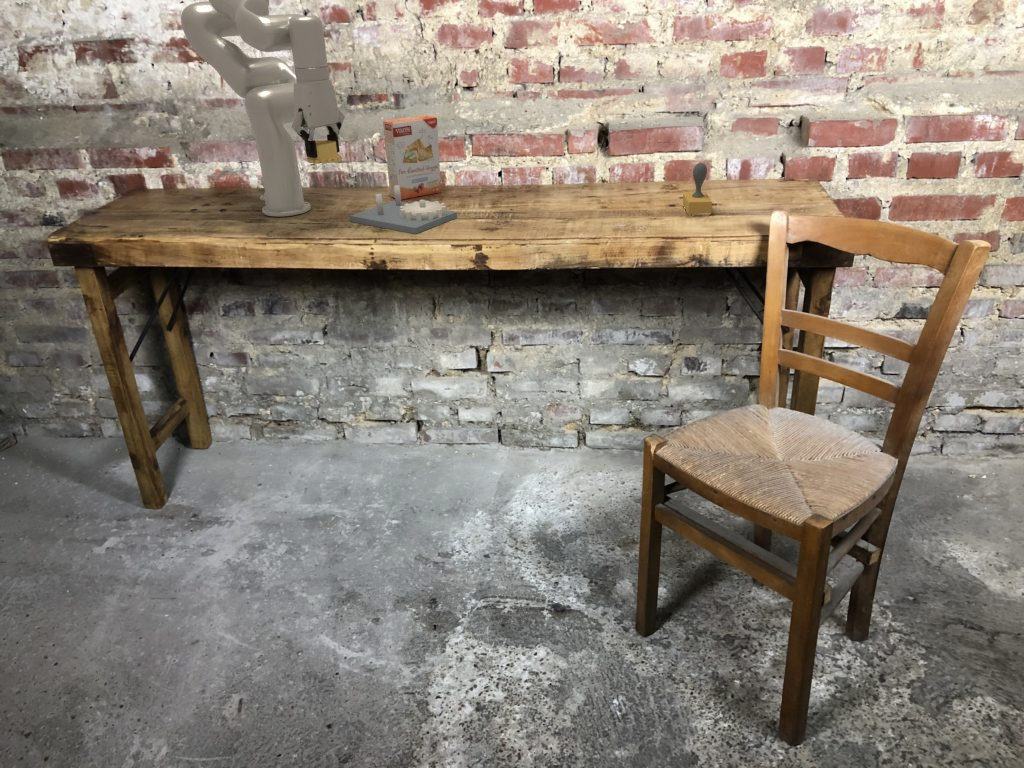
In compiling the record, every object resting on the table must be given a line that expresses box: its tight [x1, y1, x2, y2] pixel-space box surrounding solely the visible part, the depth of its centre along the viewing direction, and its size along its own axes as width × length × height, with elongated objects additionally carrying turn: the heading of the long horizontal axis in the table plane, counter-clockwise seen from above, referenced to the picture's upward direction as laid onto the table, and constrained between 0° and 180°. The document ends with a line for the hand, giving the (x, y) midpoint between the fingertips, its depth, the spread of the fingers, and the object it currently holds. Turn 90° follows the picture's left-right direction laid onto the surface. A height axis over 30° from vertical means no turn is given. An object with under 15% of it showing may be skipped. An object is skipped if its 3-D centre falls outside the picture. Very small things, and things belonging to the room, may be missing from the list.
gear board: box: [349, 185, 458, 235], centre depth 192 cm, size 22×16×6 cm
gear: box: [306, 140, 342, 165], centre depth 184 cm, size 8×8×4 cm
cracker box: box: [382, 114, 442, 201], centre depth 211 cm, size 14×6×21 cm, turn 126°
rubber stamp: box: [682, 162, 713, 214], centre depth 191 cm, size 10×6×12 cm, turn 177°
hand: (323, 153), depth 184 cm, fingers closed on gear, 6 cm apart
